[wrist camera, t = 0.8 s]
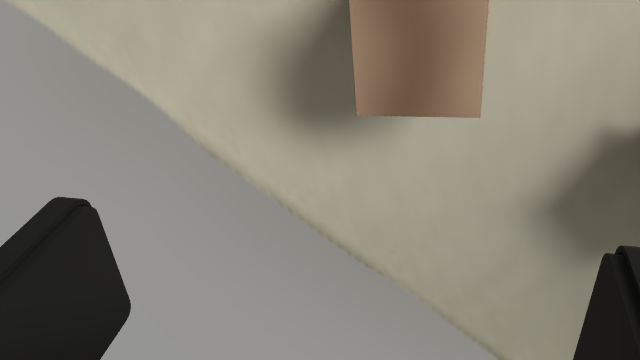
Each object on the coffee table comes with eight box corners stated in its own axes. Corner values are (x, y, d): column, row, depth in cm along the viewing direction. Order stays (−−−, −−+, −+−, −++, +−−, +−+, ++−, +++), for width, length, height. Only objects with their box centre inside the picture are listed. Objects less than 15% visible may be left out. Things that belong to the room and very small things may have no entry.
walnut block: (486, -58, 25) (489, -11, 19) (479, 46, 28) (480, 117, 22) (379, -52, 27) (348, -6, 20) (383, 47, 29) (356, 115, 23)
